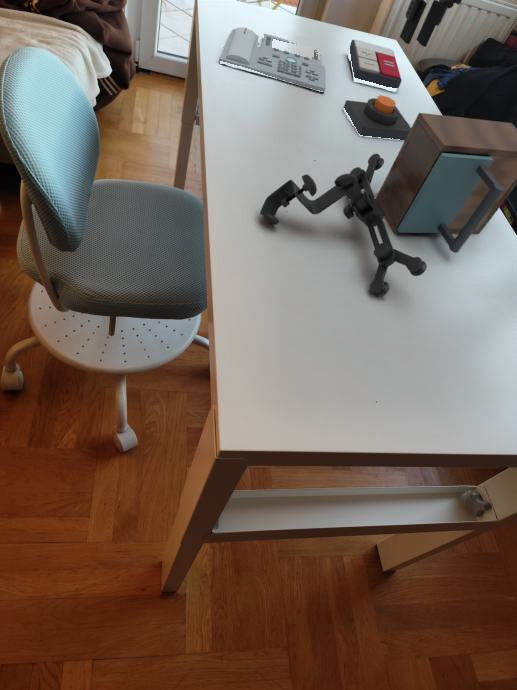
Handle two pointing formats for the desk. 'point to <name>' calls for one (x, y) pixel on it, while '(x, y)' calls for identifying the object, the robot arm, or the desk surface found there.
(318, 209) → the tablet mount
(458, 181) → the sliding door
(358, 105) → the switch block
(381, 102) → the light button
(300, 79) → the office telephone
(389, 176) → the closet
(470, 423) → the desk surface
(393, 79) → the button panel
